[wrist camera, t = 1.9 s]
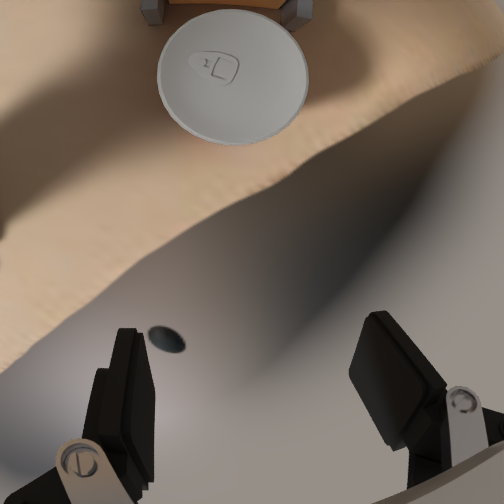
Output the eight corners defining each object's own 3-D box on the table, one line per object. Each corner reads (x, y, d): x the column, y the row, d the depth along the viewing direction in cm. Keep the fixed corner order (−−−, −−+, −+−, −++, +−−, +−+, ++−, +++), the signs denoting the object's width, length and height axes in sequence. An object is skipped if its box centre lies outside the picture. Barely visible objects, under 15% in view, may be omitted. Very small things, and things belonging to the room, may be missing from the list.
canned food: (175, 44, 21) (165, 3, 12) (270, 52, 23) (317, 22, 13) (166, 130, 25) (149, 143, 15) (260, 136, 26) (301, 154, 16)
